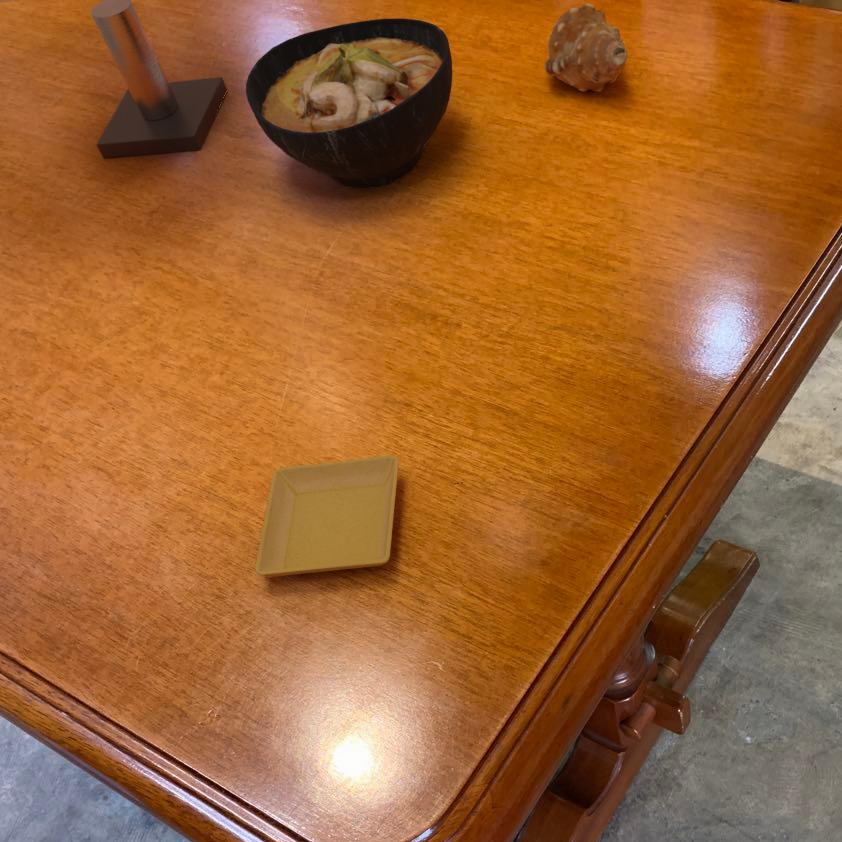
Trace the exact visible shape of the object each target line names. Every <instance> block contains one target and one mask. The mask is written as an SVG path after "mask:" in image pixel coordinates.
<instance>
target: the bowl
mask: <svg viewBox="0 0 842 842" xmlns="http://www.w3.org/2000/svg"><path fill="white" fill-rule="evenodd" d="M449 42H450V41H449V39H448V37H447V33H445V31H444V30H443V29H442V28H440V27H439V26H437V24H433V23H431V22H428V21H425V20H421V19H415V18H414V19H413V18H402V17H401V18H397V17H396V18H378V19H377V18H376V19H367V20H360V21H356V22H350V23H344V24H338V25H335V26H334V25H333V26H329V27H326V28H320V29H317V30H313V31H308V32H305V33H302V34H299V35H297V36H294V37H292V38H289V39H286V40H284V41H282V42H280V43H278V44H277V45H275V46H273V47H271V48H270V49H269V50H268V51H267V52H265V53H264V54H263V55H262V56H261V57H260V58H259V59H258V60H257V61H256V62H255V64H254V65H253V66H252V68H251V70H250V72H249V74H248V76H247V79H246V83H245V95H246V99H247V102H248V104H249V107H250V109H251V111H252V113H253V115H254V117H255V120H256V121H257V123H258V125H259V127H260V128H261V129H262V131H263V132H264V133H263V134H265V136H266V137H267V138H268V139H269V140H270V141H271V142H272V143H273V144H274V145H275V146H276V147H277V148H279V149H280V150H281V151H282V152H283V153H285V154H286V155H287V156H288V157H289V158H291V159H293V160H295V161H296V162H298V163H300V164H302V165H304V166H305V167H307V168H309V169H311V170H313V171H317V172H319V173H321V174H325V175H328V176H329V177H330V178H331V179H332V180H334V182H335V183H338V184H339V185H341V186H343V187H346V188H351V189H359V190H364V189H365V190H367V189H374V188H380V187H383V186H387V185H390V184H392V183H394V182H397V181H399V180H401V179H402V178H404V177H405V176H408V175H409V174H410V173H411V172H412V171H413V170H414V169H415V168H416V167H417V166H418V164H419V162H420V161H421V160H422V157H423V153H424V149H425V146H426V145H427V144H428V143H429V141H430V139H432V137H433V136H434V134H435V132H436V130H437V129H438V128H439V127H438V126H439V124H440V123H441V121H442V119H443V117H444V116H445V114H446V111H447V108H448V106H449V102H450V99H451V92H452V87H453V58H452V53H451V52H452V51H451V47H450V43H449Z"/></svg>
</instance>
